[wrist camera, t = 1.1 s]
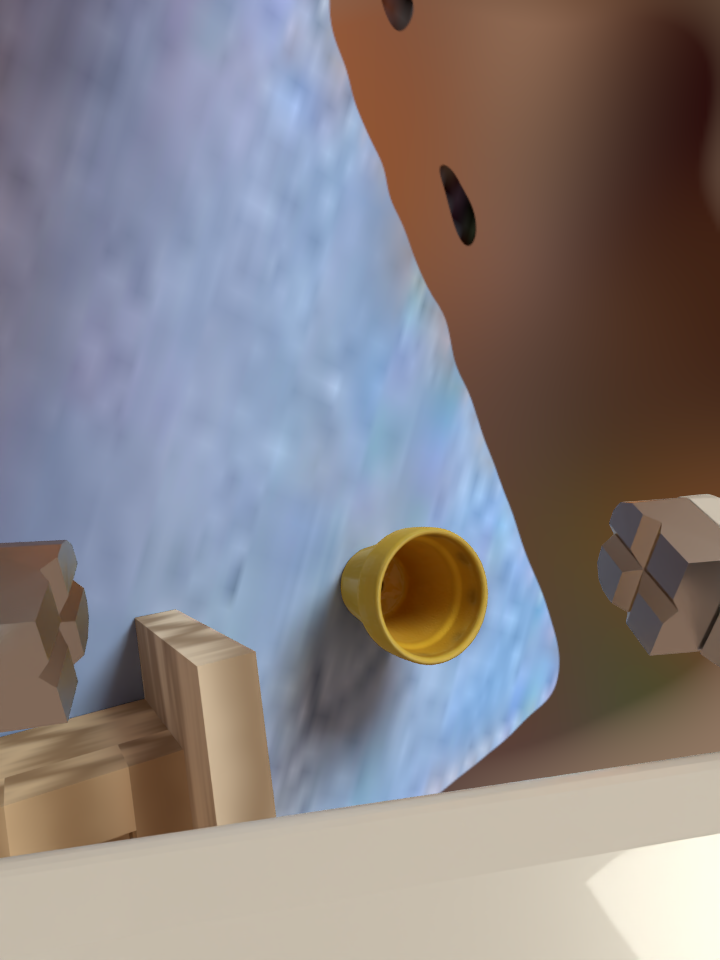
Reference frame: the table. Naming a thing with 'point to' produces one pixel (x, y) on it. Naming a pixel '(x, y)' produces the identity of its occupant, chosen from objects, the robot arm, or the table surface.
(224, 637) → the tan blocky piece
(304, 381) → the table surface
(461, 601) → the plant pot
